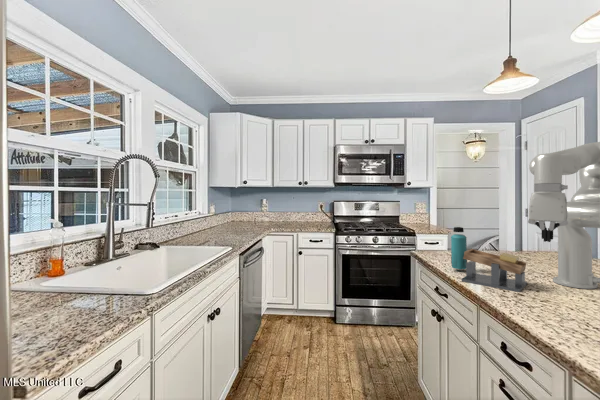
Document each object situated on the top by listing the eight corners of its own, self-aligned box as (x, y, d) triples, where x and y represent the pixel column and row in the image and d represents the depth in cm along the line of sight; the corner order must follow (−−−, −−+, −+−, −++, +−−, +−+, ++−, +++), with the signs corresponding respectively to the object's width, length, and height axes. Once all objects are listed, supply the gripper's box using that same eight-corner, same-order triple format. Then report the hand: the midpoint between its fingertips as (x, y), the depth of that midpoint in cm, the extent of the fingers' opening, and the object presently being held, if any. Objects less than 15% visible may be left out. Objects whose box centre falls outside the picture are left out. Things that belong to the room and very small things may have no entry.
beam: (524, 270, 112) (526, 262, 111) (520, 274, 106) (521, 266, 106) (470, 255, 125) (471, 248, 125) (463, 258, 120) (464, 251, 119)
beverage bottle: (469, 273, 130) (469, 228, 130) (453, 272, 132) (453, 227, 131) (464, 269, 137) (464, 226, 136) (449, 268, 138) (448, 226, 138)
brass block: (517, 264, 112) (519, 256, 111) (514, 266, 108) (516, 258, 108) (502, 260, 115) (503, 252, 115) (498, 262, 112) (500, 254, 112)
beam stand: (526, 284, 113) (526, 261, 113) (519, 292, 104) (519, 267, 104) (472, 275, 127) (472, 254, 127) (461, 281, 118) (461, 259, 118)
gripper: (577, 188, 100) (577, 242, 100) (523, 189, 111) (523, 238, 111) (575, 188, 95) (575, 245, 95) (519, 189, 106) (518, 240, 106)
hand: (547, 241), depth 103 cm, fingers closed
